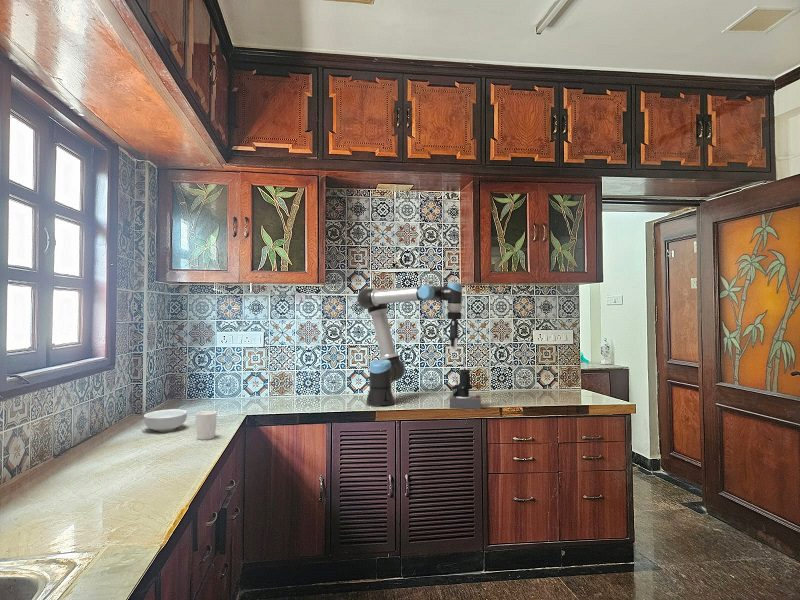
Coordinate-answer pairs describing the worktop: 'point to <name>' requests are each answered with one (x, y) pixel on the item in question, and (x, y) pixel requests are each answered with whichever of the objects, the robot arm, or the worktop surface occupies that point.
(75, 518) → the worktop surface
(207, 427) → the white cup
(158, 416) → the cereal bowl
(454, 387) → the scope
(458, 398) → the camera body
